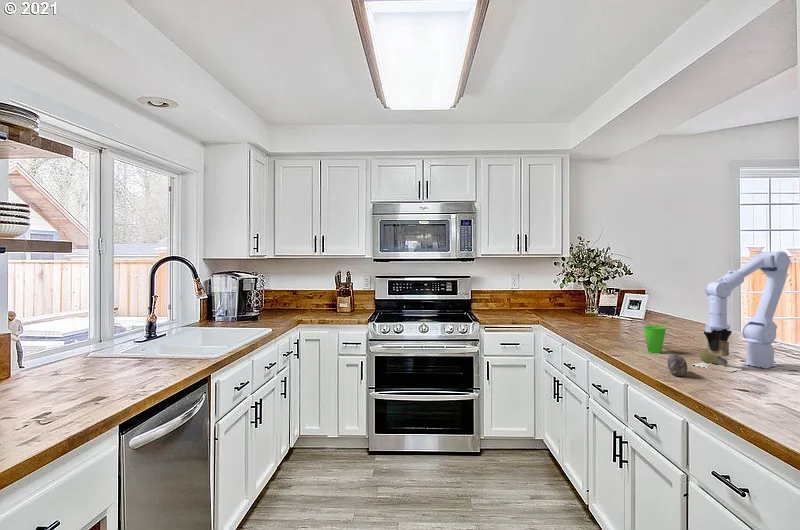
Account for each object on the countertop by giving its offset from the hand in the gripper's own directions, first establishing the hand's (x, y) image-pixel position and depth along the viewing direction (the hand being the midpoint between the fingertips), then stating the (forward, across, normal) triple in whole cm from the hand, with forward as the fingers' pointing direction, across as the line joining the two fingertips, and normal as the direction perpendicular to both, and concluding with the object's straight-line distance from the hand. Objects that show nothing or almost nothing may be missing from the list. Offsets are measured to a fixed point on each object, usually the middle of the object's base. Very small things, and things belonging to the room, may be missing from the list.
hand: (717, 349), depth 182 cm
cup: (+7, -8, -29) cm, 31 cm away
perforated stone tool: (+7, +23, -3) cm, 24 cm away
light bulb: (+5, -4, +2) cm, 7 cm away
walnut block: (+2, 0, 0) cm, 2 cm away
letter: (+7, 0, 0) cm, 7 cm away
